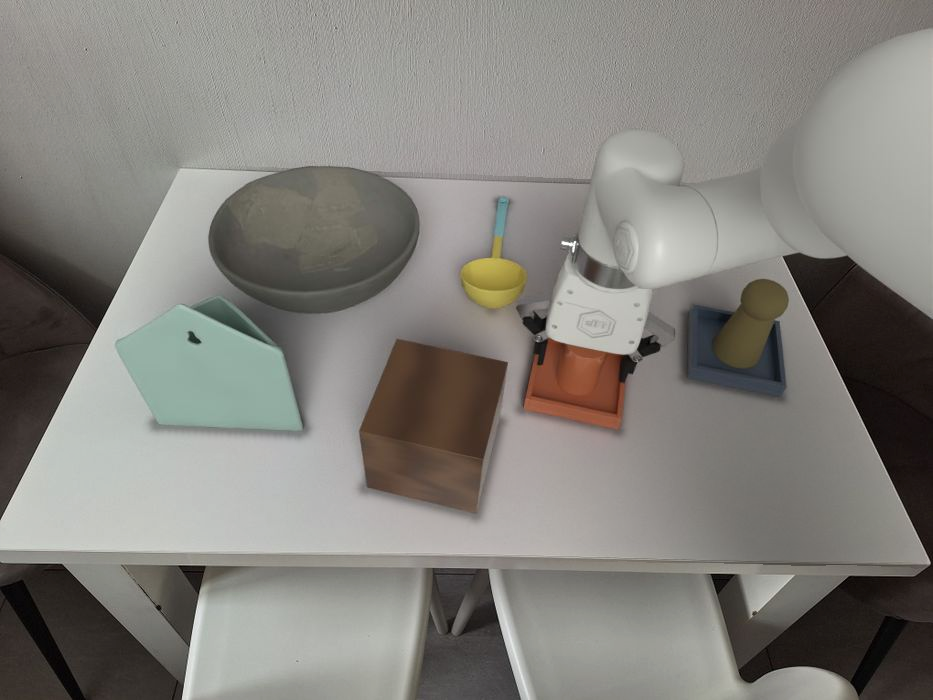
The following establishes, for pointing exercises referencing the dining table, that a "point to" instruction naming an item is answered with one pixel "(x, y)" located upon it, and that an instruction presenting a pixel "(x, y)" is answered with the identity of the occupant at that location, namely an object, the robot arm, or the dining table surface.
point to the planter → (211, 369)
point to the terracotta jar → (579, 369)
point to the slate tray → (711, 369)
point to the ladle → (494, 271)
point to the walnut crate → (433, 424)
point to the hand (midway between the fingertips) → (581, 364)
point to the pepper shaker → (751, 324)
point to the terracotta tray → (589, 408)
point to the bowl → (314, 237)
